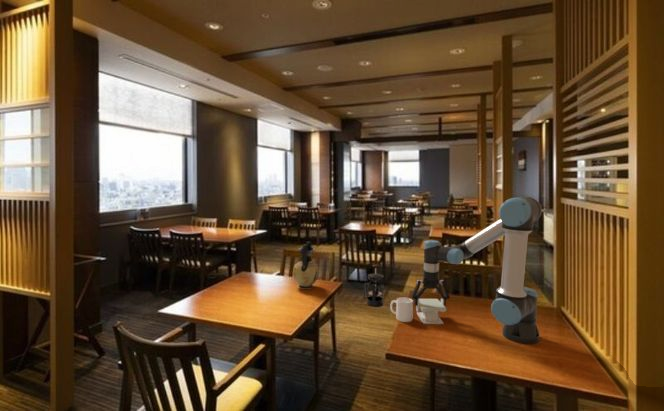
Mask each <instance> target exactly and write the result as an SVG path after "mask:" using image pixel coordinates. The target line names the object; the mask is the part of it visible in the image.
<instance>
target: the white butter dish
mask: <svg viewBox="0 0 664 411" xmlns="http://www.w3.org/2000/svg"><path fill="white" fill-rule="evenodd" d="M416 314H417V316H418V318H419V319H420V321H421V322H422V323H423V325H444V321H443V320H442V319H441V317H440V316H439V311H422V310H421V311H419V313H418V312H417V311H416Z"/></svg>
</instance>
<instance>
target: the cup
mask: <svg viewBox="0 0 664 411" xmlns="http://www.w3.org/2000/svg"><path fill="white" fill-rule="evenodd" d="M393 304H396V306H395V308H396V310H395V311H394V310H393ZM413 307H414V300H413V298H410V297H405V296H404V297H396V300H395V299H394V300H391V302H390V304H389V308H390V313H392V314H393V315H395V318H396V320H397V321H398V322H401V323H410V322H412V321H413V314H414V308H413Z"/></svg>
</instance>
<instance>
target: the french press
mask: <svg viewBox="0 0 664 411" xmlns="http://www.w3.org/2000/svg"><path fill="white" fill-rule="evenodd" d="M371 266H372V267H374V269H375V270H374V271H375V273H368V274H367V277H368V280H369V282H365V283H364V284H363V287H364V288H363V298H364V299H365V300H367V301H366V305H367V306H368V307H372V308H380V307H383V306H384V283H383V282H381V279H382V278H384V274H381V273H377V268H378V267H380V265H379V264H372V265H371ZM366 285H367V288H370V289H372V290H370V291H369V289H367V290H366ZM379 289H382V291H379ZM366 291H367V296H366Z"/></svg>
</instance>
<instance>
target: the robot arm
mask: <svg viewBox="0 0 664 411" xmlns="http://www.w3.org/2000/svg"><path fill="white" fill-rule="evenodd" d="M542 209H543V208H542V206H541V204H540V202H539V201H538V200H537V199H535V198H533V197H530V196H522V197H512V198H507V200H505V201H504V202H502V204H501V205H500V207H499V210H498V216H499V219H497V220H496V221H494V222H492V223H491V224H489V225H488V226H487V227H484V228H483V229H482V230H480V231H479V232H477V233H475V234H474V235H472V236H471V237H469V238H468V239H466V240H465V241H463V242H462V243H460V244H457V245H454V246H442V245H441V244H440V241H438V240H435V239H434V240H433V239H429V240H425V241H424V245H423V246H424V248H423V253H424V254H423V256H424V257H423V277H422V278H423V279H417V280H416V285H415V287H414V288H413V290H412V292H411V294H410V297H411V299H412V300H413V299H414V305H415V307H416V308H415V310H416V313H417V312H418V313H419V312H420V308H419V299H420V298H421V296H422V295H423V294H424V292H425V291H426V290H429V289H430V290H431V289H432V290H434V289H436V291H437V292H438V294H439V295H440V296H441V298H440V302H441V303H442V304H443V305H444V306H445V307H446V305H447V304H446V303H447V302H446V301H447V300H449V299H450V298H451V297H450V295H449V292H448V290H447V287H446V283H445V282H446V281H445V280H444V279H439V276H440V275H439V274H440V273H439V270H440V262H442V263H443V262H444V263H448V264H451V265H460V264H462V263H463V260H467V259H469V258H471V257H473V256H474V254H476V253H477V252H479V251H481V250H482V249H484V248H486V247H487V246H489V245H491V244H492V243H495V242H496V241H497V240H499V239H501V238H503V237H504V243H503V244H504V245H503V256H502V267H501V280H500V286H499V287H498V288H496V294H495V299H494V300H493V301H492V303H491V305H490V311H491V313H492V315H493V317H494V318H495V319H496V321H498V323H500V324H503V327H502V335H503V337H504V338H506V339H508V340H510V341H513V342H516V343H520V344H526V345H528V344H529V345H532V344H538V343H539V342H540V336H541V335H540V332H539V329H538V324H537V308H538V307H537V306H538V305H537V304H538V292H537V290H536V289H533V288H531V287H527V286H524V285H525V284H524V282H525V275H526V274H525V270H526V260H527V249H528V242H529V241H528V238H529V235H530V234H531V233H532V232H533V231H534V230H533V229H534V223H535V222H536V221H538V220H539V218H540V217H541V216H542V211H543V210H542ZM422 284H423V285H422ZM439 284H440V285H441V288H442V290H443V292H442V290H440V287H439ZM421 285H422V287H421ZM420 287H421V288H420ZM419 289H420V290H419ZM443 293H444V294H443ZM440 312H441V313H444V312H445V311H440Z"/></svg>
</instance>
